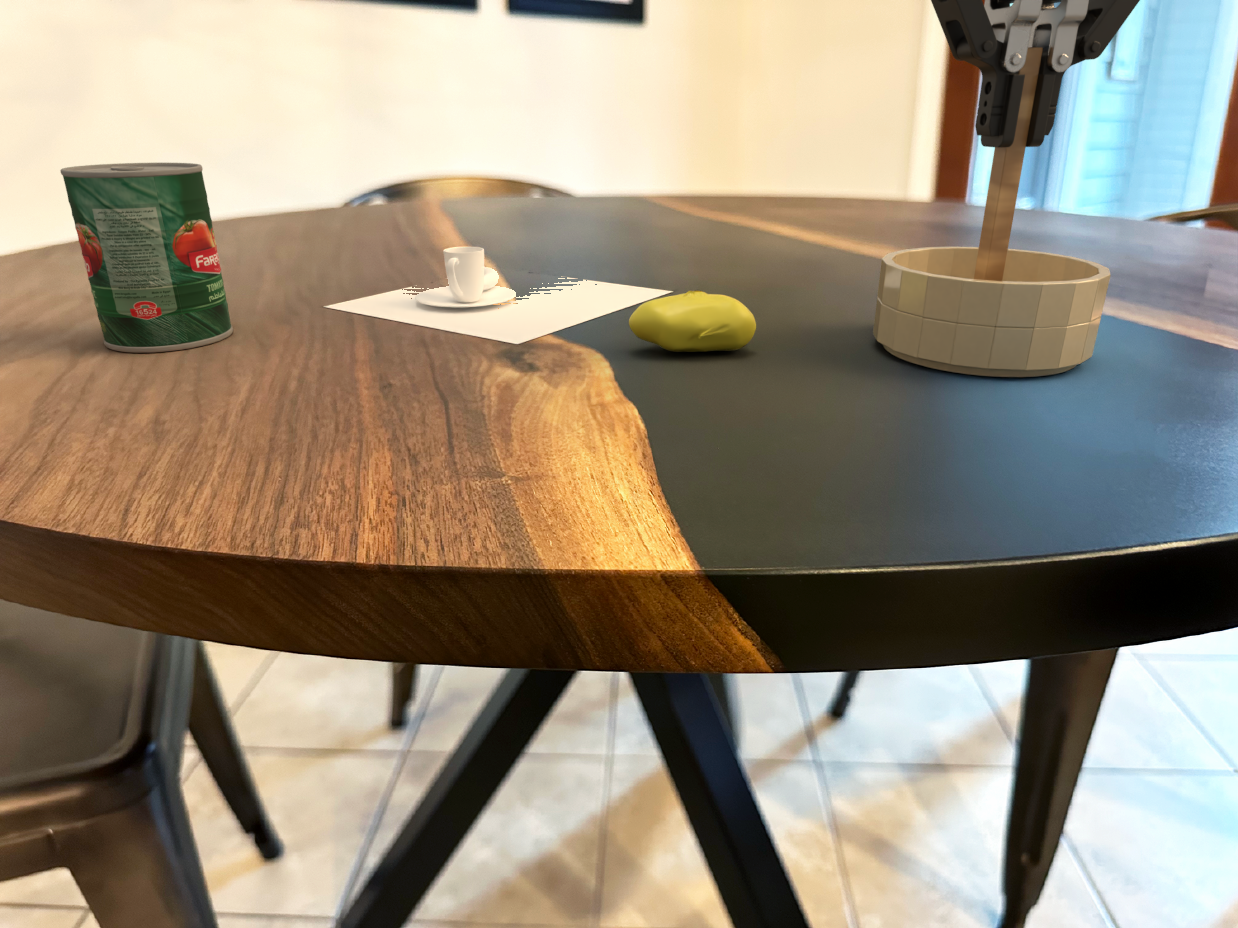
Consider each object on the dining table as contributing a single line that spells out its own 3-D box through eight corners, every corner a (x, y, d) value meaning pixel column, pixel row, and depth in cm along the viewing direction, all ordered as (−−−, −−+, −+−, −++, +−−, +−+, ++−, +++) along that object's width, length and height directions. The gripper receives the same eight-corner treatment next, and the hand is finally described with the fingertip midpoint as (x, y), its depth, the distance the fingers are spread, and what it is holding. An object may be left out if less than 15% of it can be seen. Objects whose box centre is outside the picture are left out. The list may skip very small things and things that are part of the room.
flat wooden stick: (994, 311, 54) (1039, 50, 48) (1042, 330, 50) (1099, 45, 44) (923, 314, 54) (959, 50, 48) (965, 334, 49) (1012, 45, 43)
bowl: (1008, 322, 60) (1022, 244, 58) (1139, 374, 49) (1163, 279, 47) (841, 330, 58) (849, 249, 56) (935, 386, 47) (950, 287, 44)
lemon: (758, 361, 51) (762, 298, 50) (627, 360, 52) (627, 297, 50) (751, 343, 55) (755, 284, 54) (630, 342, 55) (630, 283, 54)
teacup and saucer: (471, 285, 73) (468, 237, 71) (543, 296, 68) (541, 245, 67) (394, 304, 66) (388, 252, 64) (468, 317, 62) (463, 262, 60)
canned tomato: (250, 338, 57) (219, 166, 52) (120, 360, 52) (74, 173, 48) (212, 318, 62) (181, 160, 58) (92, 336, 57) (48, 166, 53)
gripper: (990, -274, 36) (933, 152, 43) (1262, -256, 38) (1166, 148, 45) (907, -214, 43) (869, 145, 50) (1142, -202, 45) (1075, 142, 52)
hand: (1011, 145), depth 48 cm, fingers closed on flat wooden stick, 1 cm apart
